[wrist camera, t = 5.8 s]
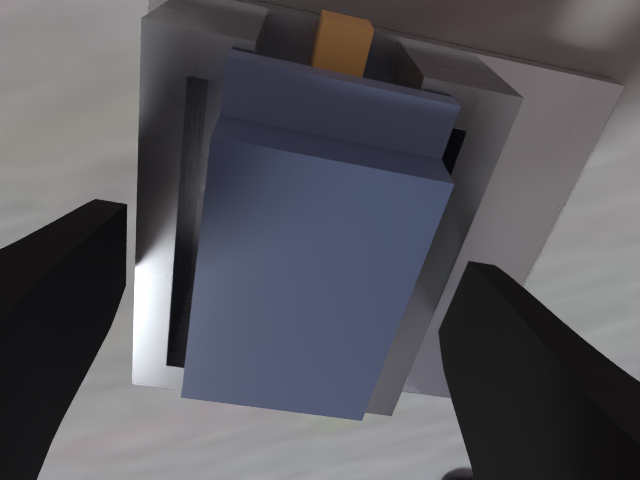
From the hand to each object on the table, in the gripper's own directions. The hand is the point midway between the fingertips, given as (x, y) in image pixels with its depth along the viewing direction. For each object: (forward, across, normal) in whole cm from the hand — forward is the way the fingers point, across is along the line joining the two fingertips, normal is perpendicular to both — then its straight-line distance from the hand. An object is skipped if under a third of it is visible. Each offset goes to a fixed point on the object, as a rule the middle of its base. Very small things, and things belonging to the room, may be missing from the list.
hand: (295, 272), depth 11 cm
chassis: (+4, -2, +1) cm, 4 cm away
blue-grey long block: (+3, 0, 0) cm, 3 cm away
